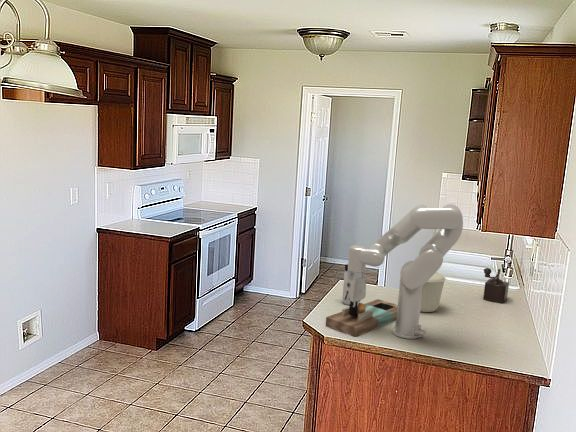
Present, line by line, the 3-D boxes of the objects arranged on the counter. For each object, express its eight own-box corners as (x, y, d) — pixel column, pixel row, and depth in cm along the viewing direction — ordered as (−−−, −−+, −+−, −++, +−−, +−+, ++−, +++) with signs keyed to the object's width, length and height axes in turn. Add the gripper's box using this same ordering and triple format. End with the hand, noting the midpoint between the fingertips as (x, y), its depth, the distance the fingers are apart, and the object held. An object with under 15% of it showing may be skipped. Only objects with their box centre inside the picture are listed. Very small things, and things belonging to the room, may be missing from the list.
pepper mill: (486, 294, 306) (489, 262, 303) (507, 299, 300) (511, 266, 297) (478, 302, 293) (482, 268, 290) (501, 306, 287) (505, 272, 284)
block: (364, 315, 251) (366, 304, 252) (359, 314, 247) (361, 303, 248) (354, 312, 254) (356, 302, 255) (349, 312, 250) (351, 300, 251)
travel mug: (345, 305, 275) (348, 265, 272) (340, 301, 282) (343, 262, 278) (357, 305, 277) (360, 265, 273) (352, 301, 283) (355, 262, 280)
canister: (449, 314, 272) (454, 271, 268) (416, 316, 266) (420, 272, 262) (429, 301, 289) (433, 261, 285) (397, 303, 283) (401, 262, 279)
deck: (405, 316, 266) (407, 301, 264) (355, 336, 237) (356, 320, 236) (377, 306, 276) (378, 293, 275) (325, 325, 248) (326, 310, 246)
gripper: (352, 279, 236) (349, 321, 240) (373, 273, 247) (369, 313, 251) (338, 275, 241) (335, 316, 245) (359, 269, 252) (355, 309, 256)
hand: (352, 314), depth 248 cm, fingers closed
